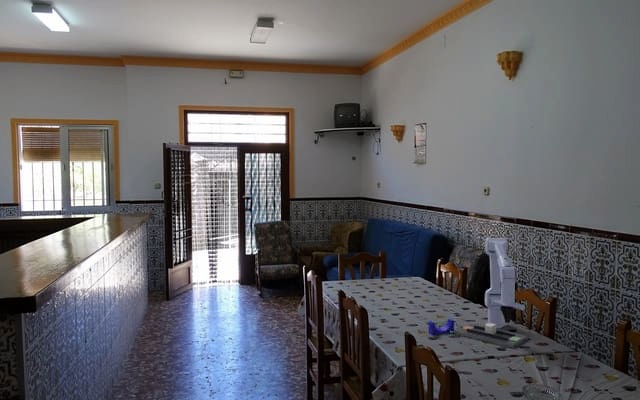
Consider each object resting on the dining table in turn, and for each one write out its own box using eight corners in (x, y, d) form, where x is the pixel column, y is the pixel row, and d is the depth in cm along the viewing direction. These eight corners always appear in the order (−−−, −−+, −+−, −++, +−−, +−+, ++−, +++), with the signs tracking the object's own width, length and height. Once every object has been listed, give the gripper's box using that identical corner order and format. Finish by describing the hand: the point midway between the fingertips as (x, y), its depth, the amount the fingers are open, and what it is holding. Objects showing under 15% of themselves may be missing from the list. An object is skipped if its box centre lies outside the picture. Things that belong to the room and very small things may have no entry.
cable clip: (448, 330, 244) (449, 317, 243) (454, 332, 239) (454, 320, 239) (427, 332, 240) (427, 320, 240) (431, 335, 236) (431, 323, 236)
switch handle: (489, 331, 236) (490, 323, 235) (496, 332, 233) (496, 324, 233) (485, 333, 232) (485, 325, 232) (491, 335, 230) (491, 326, 230)
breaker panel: (471, 326, 248) (471, 321, 248) (527, 339, 229) (527, 333, 229) (454, 334, 237) (454, 328, 237) (512, 348, 217) (512, 342, 217)
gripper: (488, 292, 228) (488, 321, 229) (520, 297, 218) (519, 327, 219) (495, 289, 233) (495, 317, 234) (526, 294, 223) (526, 324, 224)
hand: (507, 322), depth 227 cm, fingers closed
